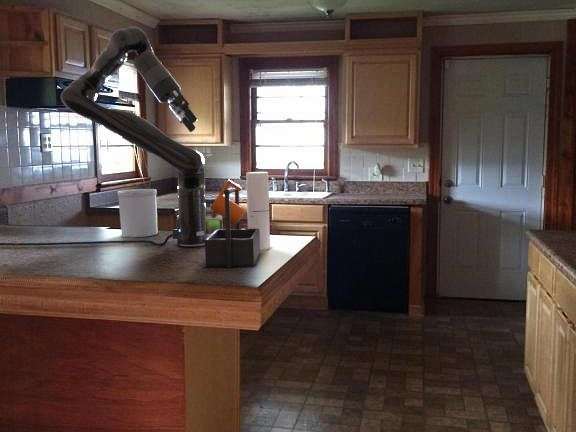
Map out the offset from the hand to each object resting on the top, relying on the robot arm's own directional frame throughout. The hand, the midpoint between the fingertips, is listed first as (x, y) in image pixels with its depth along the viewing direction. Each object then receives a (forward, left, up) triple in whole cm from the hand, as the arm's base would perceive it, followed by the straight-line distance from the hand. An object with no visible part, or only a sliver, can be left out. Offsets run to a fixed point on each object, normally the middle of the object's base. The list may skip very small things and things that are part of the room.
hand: (193, 126), depth 191 cm
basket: (+13, -1, -40) cm, 42 cm away
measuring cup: (+16, 0, -25) cm, 30 cm away
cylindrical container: (+11, +21, -40) cm, 47 cm away
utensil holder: (-49, +39, -40) cm, 75 cm away
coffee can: (-22, +47, -40) cm, 66 cm away
